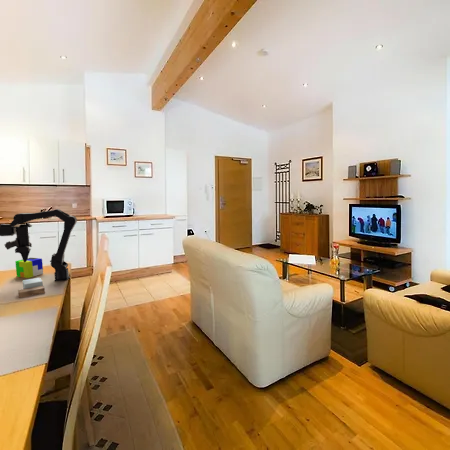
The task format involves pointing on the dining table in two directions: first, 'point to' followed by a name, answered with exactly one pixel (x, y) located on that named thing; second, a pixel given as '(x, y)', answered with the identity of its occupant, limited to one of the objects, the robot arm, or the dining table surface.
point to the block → (32, 283)
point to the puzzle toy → (29, 267)
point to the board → (31, 291)
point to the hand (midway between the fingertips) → (25, 261)
